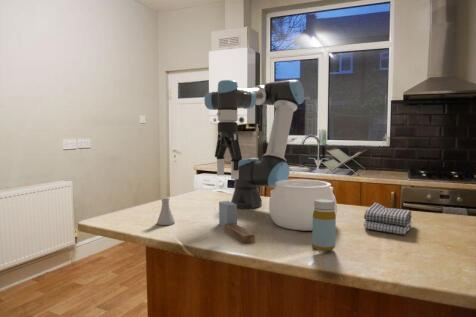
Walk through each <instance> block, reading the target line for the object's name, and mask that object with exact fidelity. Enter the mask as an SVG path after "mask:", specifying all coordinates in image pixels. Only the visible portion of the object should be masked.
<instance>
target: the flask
mask: <svg viewBox="0 0 476 317" xmlns="http://www.w3.org/2000/svg"><path fill="white" fill-rule="evenodd" d="M160 201H161V209H160V212H159V216H158V219H157V222H156V225H157V226H158V225H159V226H170V225H174V224H175V222H176V221H175V218H174V216H173V214H172V211H171V208H170V198H169V197H163V198H161V200H160Z"/></svg>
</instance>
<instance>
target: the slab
mask: <svg viewBox="0 0 476 317" xmlns="http://www.w3.org/2000/svg"><path fill="white" fill-rule="evenodd" d="M218 223H219V224H218V225H220V226H222V227H224V228H225V224H231V223H235V224H237V225H238V208H237V204H235V203H232V202H231V201H230V200H223V201H222V200H221V201H219V202H218Z"/></svg>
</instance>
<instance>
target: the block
mask: <svg viewBox="0 0 476 317" xmlns="http://www.w3.org/2000/svg"><path fill="white" fill-rule="evenodd" d="M224 232H225V233H227V234H228V235H230V236H231V237H233V238H234V239H236V240H237V241H239V242H241V243H243V244H250V243H255V242H256V234H254V233H253V232H251V231H250V230H248V229H246V228H244V227H242V226H240V225H239V224H238V223H237V224H235V223H231V224H225V227H224Z"/></svg>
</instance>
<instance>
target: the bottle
mask: <svg viewBox="0 0 476 317" xmlns="http://www.w3.org/2000/svg"><path fill="white" fill-rule="evenodd" d="M334 207H335V201H334V200H332V199H315V200H314V212H313V226H312V232H311V233H312V235H311V236H312V237H311V239H312V240H311V241H312V244H311V245H312V247H313V248H314V249H315V250H317V251H323V252H324V251H325V252H326V251H332V250H334V249H335V247H336V226H337V225H336V224H337V217H336V216H337V214H336V215H335V212H334Z"/></svg>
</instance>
